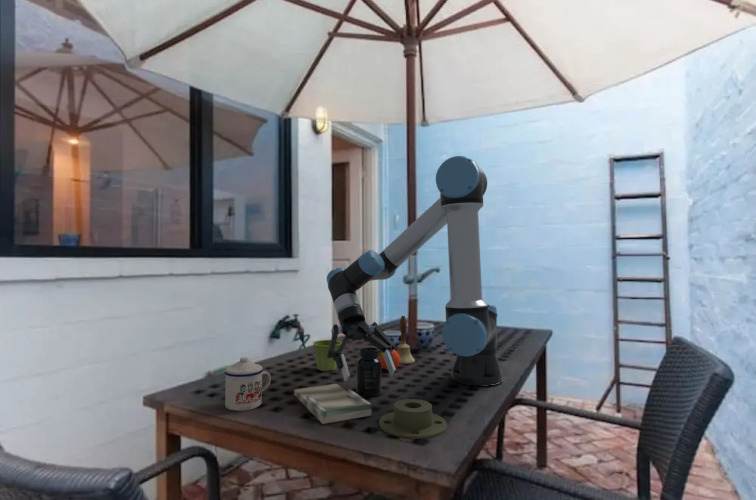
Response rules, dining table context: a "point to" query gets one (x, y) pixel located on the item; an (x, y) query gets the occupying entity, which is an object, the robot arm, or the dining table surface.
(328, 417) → the rail board
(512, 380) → the dining table surface
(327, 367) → the plant pot
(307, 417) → the dining table surface
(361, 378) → the supplement bottle
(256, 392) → the teacup with lid
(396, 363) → the clementine
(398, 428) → the flange
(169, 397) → the dining table surface
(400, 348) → the hand bell
